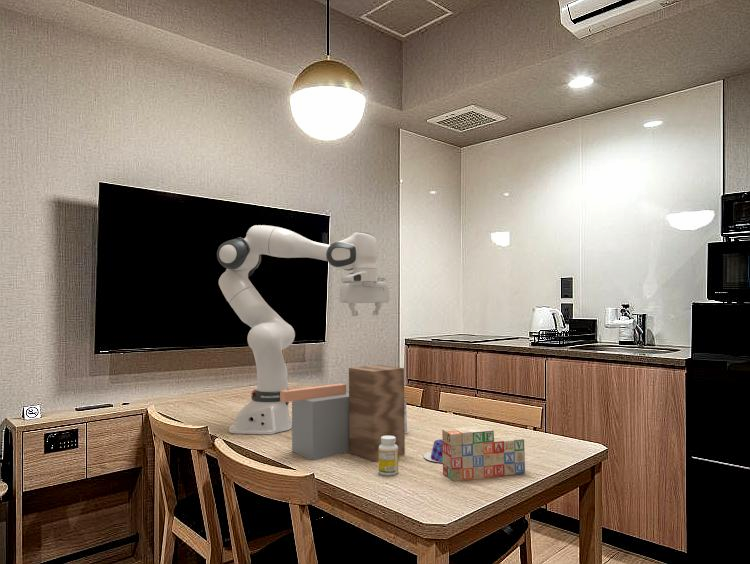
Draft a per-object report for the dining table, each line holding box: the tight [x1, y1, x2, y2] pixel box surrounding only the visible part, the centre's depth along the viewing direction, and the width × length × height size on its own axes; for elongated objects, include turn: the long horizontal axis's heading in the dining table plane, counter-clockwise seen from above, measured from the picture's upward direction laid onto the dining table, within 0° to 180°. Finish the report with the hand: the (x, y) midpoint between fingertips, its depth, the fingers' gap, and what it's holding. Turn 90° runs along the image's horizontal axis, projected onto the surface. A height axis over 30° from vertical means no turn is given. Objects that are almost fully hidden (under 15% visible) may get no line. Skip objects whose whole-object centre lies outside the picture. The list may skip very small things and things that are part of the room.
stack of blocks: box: [441, 425, 526, 482], centre depth 152 cm, size 21×6×12 cm, turn 105°
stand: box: [348, 364, 406, 463], centre depth 172 cm, size 12×12×26 cm
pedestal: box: [291, 391, 349, 461], centre depth 177 cm, size 18×12×17 cm, turn 128°
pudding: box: [423, 438, 443, 464], centre depth 167 cm, size 12×12×5 cm
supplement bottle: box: [378, 436, 399, 477], centre depth 153 cm, size 5×5×10 cm
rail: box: [280, 383, 347, 403], centre depth 174 cm, size 22×3×3 cm, turn 128°
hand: (365, 315), depth 202 cm, fingers open, 8 cm apart
